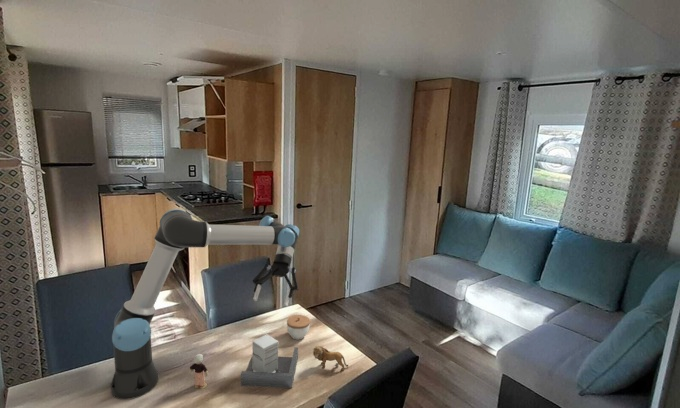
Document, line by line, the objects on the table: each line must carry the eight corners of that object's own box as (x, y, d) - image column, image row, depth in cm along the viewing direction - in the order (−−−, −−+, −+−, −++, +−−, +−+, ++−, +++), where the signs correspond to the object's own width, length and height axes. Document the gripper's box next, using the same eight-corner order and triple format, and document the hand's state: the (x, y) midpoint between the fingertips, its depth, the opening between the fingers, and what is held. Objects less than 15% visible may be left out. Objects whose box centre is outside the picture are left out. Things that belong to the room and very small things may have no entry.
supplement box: (251, 369, 142) (251, 340, 139) (267, 361, 147) (267, 333, 145) (263, 378, 137) (263, 348, 134) (278, 369, 142) (278, 340, 140)
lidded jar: (308, 342, 162) (309, 323, 161) (284, 341, 162) (285, 322, 161) (310, 330, 173) (311, 312, 171) (288, 329, 173) (288, 311, 171)
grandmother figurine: (211, 382, 134) (210, 352, 132) (208, 389, 130) (207, 358, 128) (191, 381, 134) (189, 351, 132) (186, 388, 130) (185, 357, 128)
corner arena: (240, 385, 133) (240, 373, 132) (252, 356, 151) (252, 345, 150) (291, 388, 133) (292, 376, 132) (297, 358, 151) (298, 347, 150)
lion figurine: (312, 370, 144) (313, 350, 142) (312, 362, 149) (313, 342, 147) (348, 371, 144) (350, 351, 143) (348, 363, 150) (349, 343, 148)
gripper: (311, 264, 162) (300, 310, 150) (260, 257, 167) (245, 301, 155) (309, 256, 156) (297, 303, 144) (255, 249, 160) (239, 295, 149)
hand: (270, 302), depth 150 cm, fingers open, 13 cm apart
